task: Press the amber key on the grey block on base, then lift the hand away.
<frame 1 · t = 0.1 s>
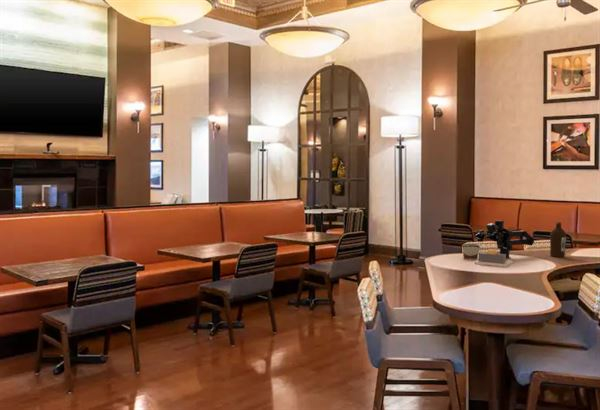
hand: (480, 236, 383), 17 cm above the table, tool horizontal, fingers open, 9 cm apart
grey block on base: (491, 264, 369), on the table
amber key: (492, 252, 369), point 8 cm above the table, slide at 0.0 cm
olive oil: (557, 256, 407), on the table
food container: (469, 258, 393), on the table
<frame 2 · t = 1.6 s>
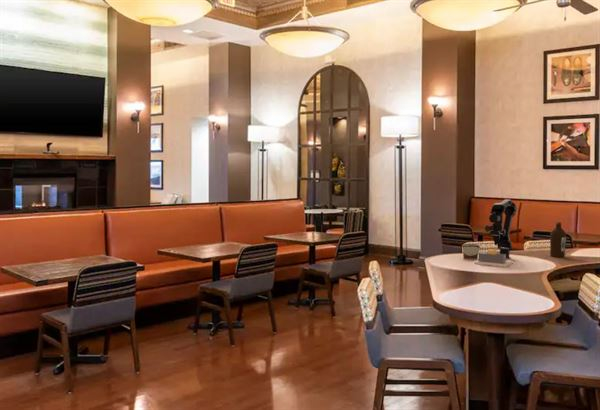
hand: (497, 244, 384), 11 cm above the table, tool pointing down, fingers open, 8 cm apart
nothing on the table moved.
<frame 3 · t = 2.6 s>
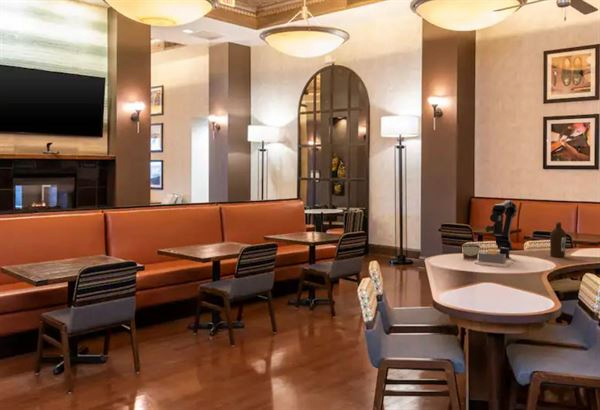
hand: (497, 245, 383), 11 cm above the table, tool pointing down, fingers closed
nothing on the table moved.
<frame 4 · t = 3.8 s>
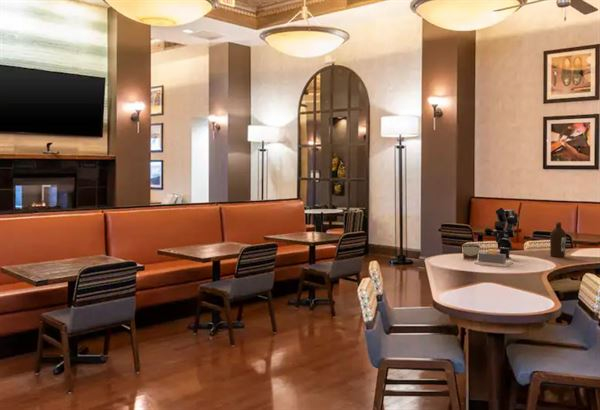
hand: (496, 242, 377), 14 cm above the table, tool tilted 45°, fingers closed
nothing on the table moved.
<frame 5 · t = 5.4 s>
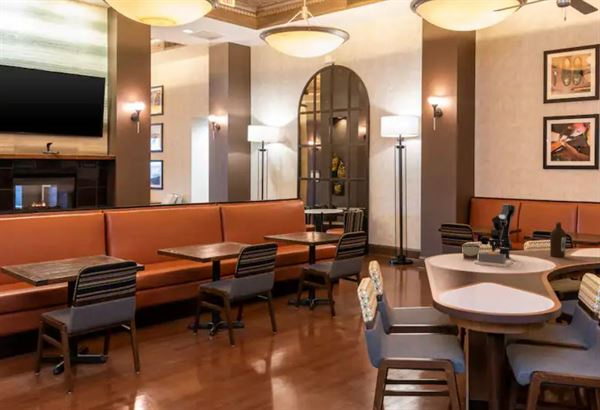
hand: (492, 251, 370), 9 cm above the table, tool tilted 45°, fingers closed, pressing on amber key
amber key: (492, 254, 369), point 7 cm above the table, slide at 1.2 cm, touching gripper
everything else where it was.
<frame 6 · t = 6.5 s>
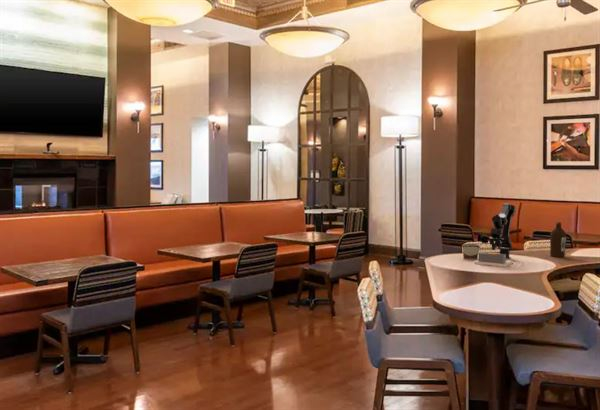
hand: (492, 249, 370), 9 cm above the table, tool tilted 45°, fingers closed
amber key: (492, 255, 369), point 6 cm above the table, slide at 2.2 cm
everything else where it was.
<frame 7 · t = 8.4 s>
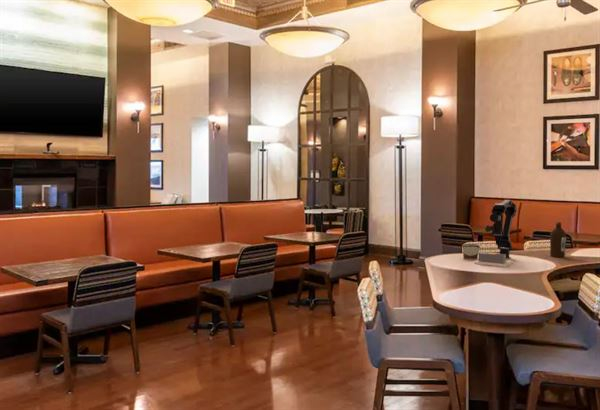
hand: (497, 245, 383), 11 cm above the table, tool pointing down, fingers closed
nothing on the table moved.
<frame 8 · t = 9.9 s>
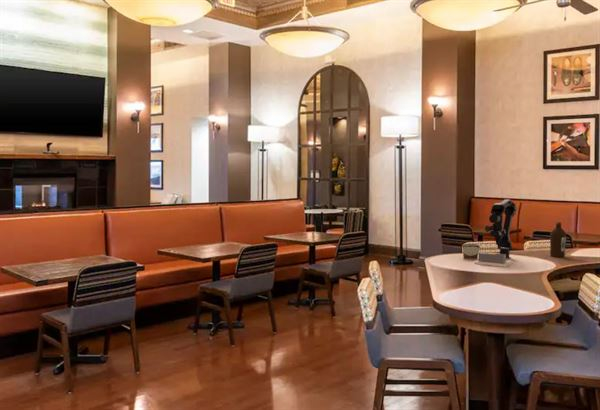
hand: (497, 244, 384), 11 cm above the table, tool pointing down, fingers closed
nothing on the table moved.
at the end: amber key slide at 2.2 cm; food container moved 0.2 cm from its start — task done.
